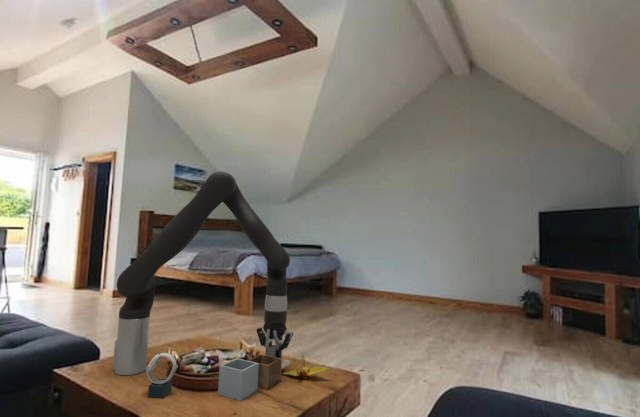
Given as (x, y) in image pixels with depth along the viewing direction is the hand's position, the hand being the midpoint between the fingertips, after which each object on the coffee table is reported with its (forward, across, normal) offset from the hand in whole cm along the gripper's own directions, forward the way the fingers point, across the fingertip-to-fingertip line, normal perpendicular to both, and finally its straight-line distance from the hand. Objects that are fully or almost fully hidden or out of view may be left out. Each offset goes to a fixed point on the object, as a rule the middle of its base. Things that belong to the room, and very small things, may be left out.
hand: (273, 360), depth 129 cm
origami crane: (+4, +11, +1) cm, 12 cm away
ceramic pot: (+4, 0, -20) cm, 20 cm away
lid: (+2, 0, 0) cm, 2 cm away
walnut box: (+4, +2, -10) cm, 11 cm away
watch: (+4, -18, -32) cm, 36 cm away
